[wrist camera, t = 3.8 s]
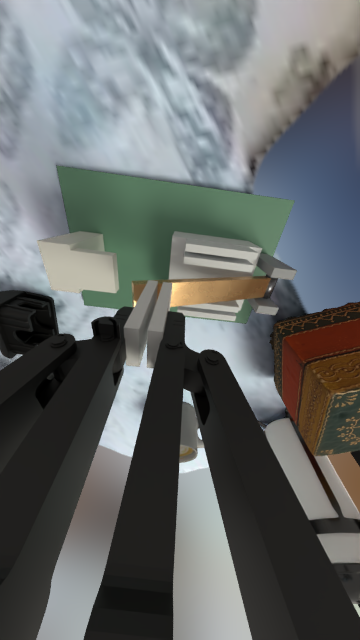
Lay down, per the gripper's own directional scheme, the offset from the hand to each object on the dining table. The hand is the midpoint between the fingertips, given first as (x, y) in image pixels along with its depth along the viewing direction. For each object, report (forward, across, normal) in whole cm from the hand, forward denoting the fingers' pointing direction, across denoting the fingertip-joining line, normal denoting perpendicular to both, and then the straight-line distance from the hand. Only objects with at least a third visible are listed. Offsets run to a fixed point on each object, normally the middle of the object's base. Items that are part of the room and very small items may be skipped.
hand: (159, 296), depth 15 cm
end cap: (+14, -24, -13) cm, 31 cm away
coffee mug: (+14, +7, -41) cm, 44 cm away
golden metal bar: (+4, +5, 0) cm, 7 cm away
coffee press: (+14, +36, -40) cm, 56 cm away
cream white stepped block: (+12, -9, 0) cm, 15 cm away
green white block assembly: (+14, 0, 0) cm, 14 cm away
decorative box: (+14, +30, -12) cm, 35 cm away
